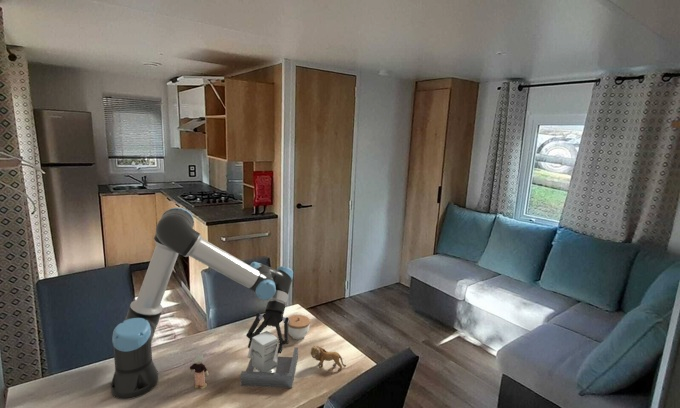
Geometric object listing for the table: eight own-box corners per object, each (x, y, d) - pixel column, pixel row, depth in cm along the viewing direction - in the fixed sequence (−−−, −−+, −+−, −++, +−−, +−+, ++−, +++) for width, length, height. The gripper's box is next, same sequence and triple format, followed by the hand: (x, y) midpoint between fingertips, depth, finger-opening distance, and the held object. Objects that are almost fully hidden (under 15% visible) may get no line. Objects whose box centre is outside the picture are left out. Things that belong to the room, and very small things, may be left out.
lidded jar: (308, 342, 162) (309, 323, 161) (284, 341, 162) (285, 322, 161) (310, 330, 173) (311, 312, 171) (288, 329, 173) (288, 311, 171)
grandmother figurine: (211, 382, 134) (210, 352, 132) (208, 389, 130) (207, 358, 128) (191, 381, 134) (189, 351, 132) (186, 388, 130) (185, 357, 128)
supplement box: (251, 366, 142) (251, 336, 139) (266, 358, 147) (267, 329, 144) (262, 375, 137) (262, 345, 134) (278, 366, 142) (278, 337, 140)
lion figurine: (309, 370, 144) (310, 350, 142) (310, 362, 149) (311, 342, 147) (346, 371, 144) (347, 351, 143) (345, 362, 150) (346, 343, 148)
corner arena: (240, 385, 133) (240, 373, 132) (252, 356, 151) (252, 345, 150) (291, 388, 133) (292, 376, 132) (297, 358, 151) (298, 347, 150)
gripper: (304, 309, 151) (291, 366, 139) (254, 302, 155) (237, 357, 143) (300, 303, 145) (287, 362, 133) (249, 296, 149) (231, 353, 137)
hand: (261, 359), depth 138 cm, fingers closed on supplement box, 10 cm apart
